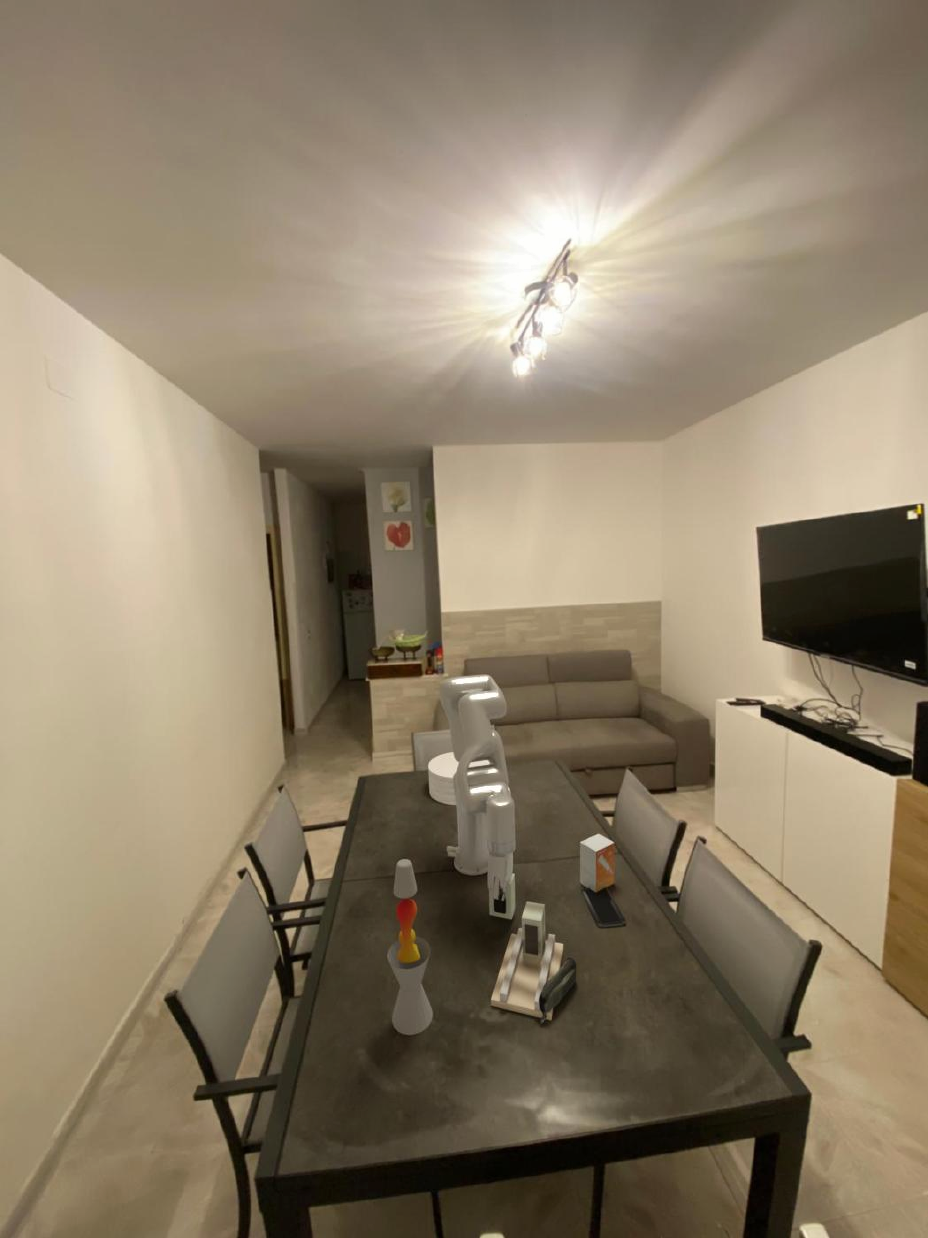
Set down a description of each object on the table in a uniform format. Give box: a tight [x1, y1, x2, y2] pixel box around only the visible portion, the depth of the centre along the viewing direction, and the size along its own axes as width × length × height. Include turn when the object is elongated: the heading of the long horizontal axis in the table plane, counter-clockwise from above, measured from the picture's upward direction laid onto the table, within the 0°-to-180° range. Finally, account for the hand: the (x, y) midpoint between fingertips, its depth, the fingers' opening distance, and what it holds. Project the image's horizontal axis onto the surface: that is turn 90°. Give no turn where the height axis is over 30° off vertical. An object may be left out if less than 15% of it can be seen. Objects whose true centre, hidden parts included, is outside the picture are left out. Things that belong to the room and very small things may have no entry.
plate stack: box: [427, 751, 490, 806], centre depth 212 cm, size 28×28×12 cm
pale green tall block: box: [487, 872, 516, 920], centre depth 134 cm, size 4×6×10 cm
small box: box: [579, 833, 615, 892], centre depth 147 cm, size 8×6×13 cm
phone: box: [580, 887, 627, 929], centre depth 138 cm, size 8×1×15 cm
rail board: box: [490, 901, 564, 1021], centre depth 116 cm, size 20×13×12 cm, turn 162°
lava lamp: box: [386, 858, 434, 1036], centre depth 105 cm, size 9×9×35 cm
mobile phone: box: [539, 957, 577, 1024], centre depth 110 cm, size 5×3×15 cm
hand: (502, 904), depth 135 cm, fingers closed on pale green tall block, 4 cm apart
